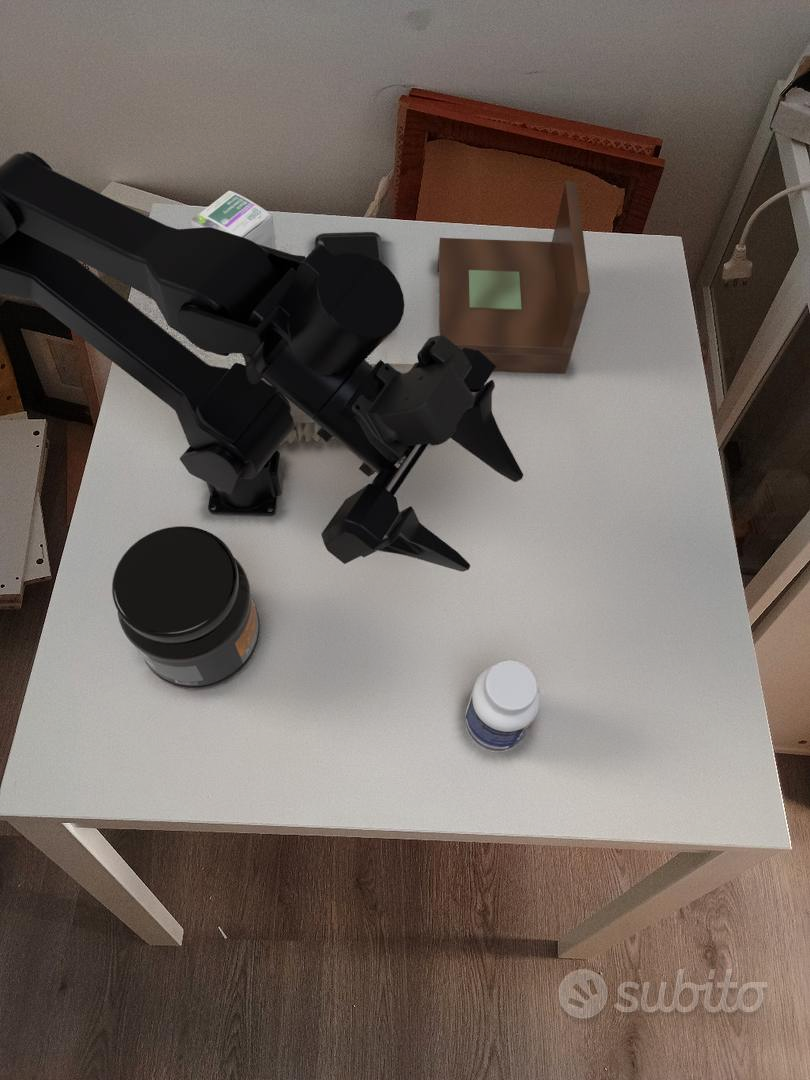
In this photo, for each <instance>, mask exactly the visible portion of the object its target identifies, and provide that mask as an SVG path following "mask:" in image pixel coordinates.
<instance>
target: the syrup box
mask: <svg viewBox="0 0 810 1080" xmlns="http://www.w3.org/2000/svg"><path fill="white" fill-rule="evenodd" d="M190 225H191V228H203V227H212V228H215V229H218V230H221V231H224V232H228V233H231V234H234V235H237V236H240V237H243V238H246V239H248V240H251V241H253V242H255V243H256V244H259V245H262V246H266V247H269V248H272V249H276V250H277V244H276V243H277V242H276V233H275V225H274V217H273V214H272V213H271V212H269V211H267V210H266V209H264V208H263V207H262V206H261V205H258V204H257V203H255V202H253V201H252V200H250V199H249V198H247V197H245V196H244V195H241V194H239V193H237V192H235V191H232V190H228V191H226V192H225V193H224V194H223V195H221V196H220V197H219V198H218V199H216V200H215V201H214V202H212V203H211V204H210V205H209V206H207V207H206V208H204V209H203V210H202V211H201V212H199V213H198V214H197V215H196V216H194V217H193V218H191V220H190Z"/></svg>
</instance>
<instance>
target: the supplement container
mask: <svg viewBox="0 0 810 1080" xmlns="http://www.w3.org/2000/svg"><path fill="white" fill-rule="evenodd" d="M247 575H248V574H247V573H246V571H245V569H244V567H243V565H242V564H241V563H240V562H239V561H238V560H237V558H236V557H235V556H234V554H233V553H232V551H231V550H230V548H229V547H228V545H227V544H226V543H225V542H224V541H223V540H222V539H221V538H220V537H218V536H217V535H215V534H213V533H211V532H210V531H208V530H205V529H202V528H198V527H195V526H184V525H178V526H169V527H165V528H161V529H157V530H154V531H152V532H150V533H148V534H147V535H145V536H143V537H142V538H139V539H138V540H137V541H136V542H135V543H133V544H132V545H131V546H130V547H129V548H128V549H127V550H126V551H125V553H124V554H123V556H121V558H120V560H119V562H118V563H117V565H116V568H115V570H114V573H113V576H112V583H111V593H112V594H111V595H112V599H113V604H114V606H115V608H116V611H117V617H118V621H119V624H120V628H121V630H122V631H123V633H124V635H125V637H126V639H128V641H129V642H130V643H131V645H133V646H134V647H135V648H136V649H137V651H138V652H139V653H140V654H139V655H141V656H142V658H143V661H144V662H145V664H146V665H147V667H148V668H149V670H150V671H151V672H152V673H153V675H155V676H156V677H157V678H158V679H159V680H161V681H163V682H164V683H166V684H168V685H170V686H172V687H174V688H177V689H181V690H188V691H202V690H209V689H213V688H216V687H218V686H221V685H223V684H226V683H228V682H229V681H231V680H232V679H234V678H235V677H237V676H238V675H239V674H241V672H242V671H243V670H244V669H245V668H247V666H248V665H249V663H250V662H251V660H252V659H253V657H254V655H255V653H256V651H257V649H258V646H259V642H260V636H261V621H260V616H259V612H258V610H257V607H256V605H255V603H254V600H253V596H252V593H251V586H250V581H249V578H248V576H247Z"/></svg>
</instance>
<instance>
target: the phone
mask: <svg viewBox="0 0 810 1080" xmlns="http://www.w3.org/2000/svg"><path fill="white" fill-rule="evenodd" d="M314 244H315V245H314V248H315V247H316V246H317V245H318V244H322V245H323V246H324V247H325V248H327V249H328V250H329V251H330V252H331V253H332V254H333V255H334V256H335V255H338V254H343V253H358V254H361V255H365V256H368V257H370V258H372V259H374V260H379V261H381V262H382V263H383V264H384V257H383V256H384V255H383V244H382V237H381V235H380V234H379V233H377V232H375V231H356V232H355V231H353V232H324V233H323V232H322V233H320V234H318V235H317V236H316V237H315V239H314Z"/></svg>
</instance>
